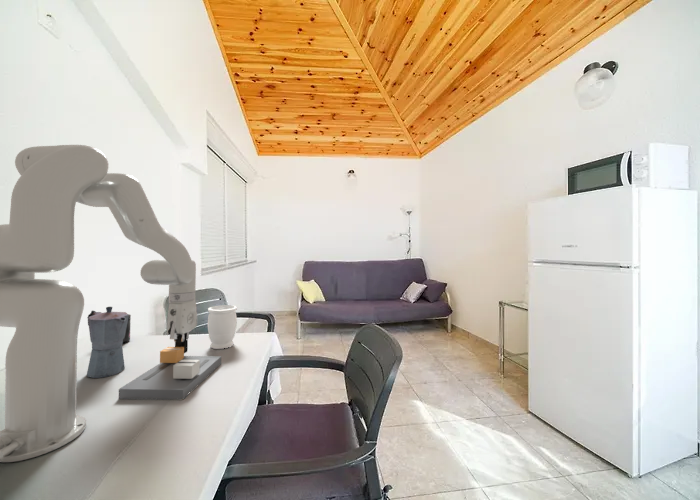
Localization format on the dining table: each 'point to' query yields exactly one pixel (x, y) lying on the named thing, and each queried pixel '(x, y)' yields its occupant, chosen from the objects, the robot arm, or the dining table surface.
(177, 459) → the dining table surface
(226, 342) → the jar
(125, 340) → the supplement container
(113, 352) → the moka pot
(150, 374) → the console
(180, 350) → the orange fader
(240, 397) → the dining table surface
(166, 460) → the dining table surface
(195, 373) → the block
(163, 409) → the dining table surface
